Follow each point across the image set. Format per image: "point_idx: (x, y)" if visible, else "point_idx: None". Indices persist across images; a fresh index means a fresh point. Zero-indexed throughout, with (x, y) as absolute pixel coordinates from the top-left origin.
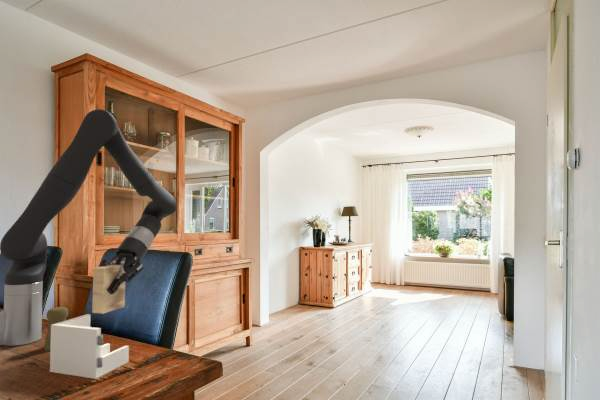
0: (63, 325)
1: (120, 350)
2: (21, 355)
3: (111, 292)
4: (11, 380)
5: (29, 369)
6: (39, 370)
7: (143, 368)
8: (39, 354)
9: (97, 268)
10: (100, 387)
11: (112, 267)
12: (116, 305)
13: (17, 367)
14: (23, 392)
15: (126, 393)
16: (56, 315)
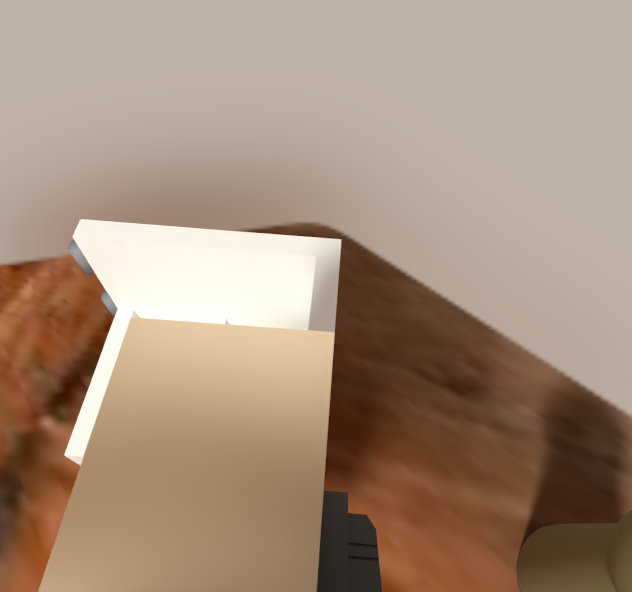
0: (274, 240)
1: (84, 404)
2: (599, 447)
3: None
4: (389, 275)
5: (418, 343)
6: (377, 343)
7: (5, 426)
8: (540, 473)
9: (259, 332)
10: (94, 283)
11: (74, 506)
12: None
13: (476, 349)
14: (286, 232)
15: (2, 268)
16: (626, 515)
